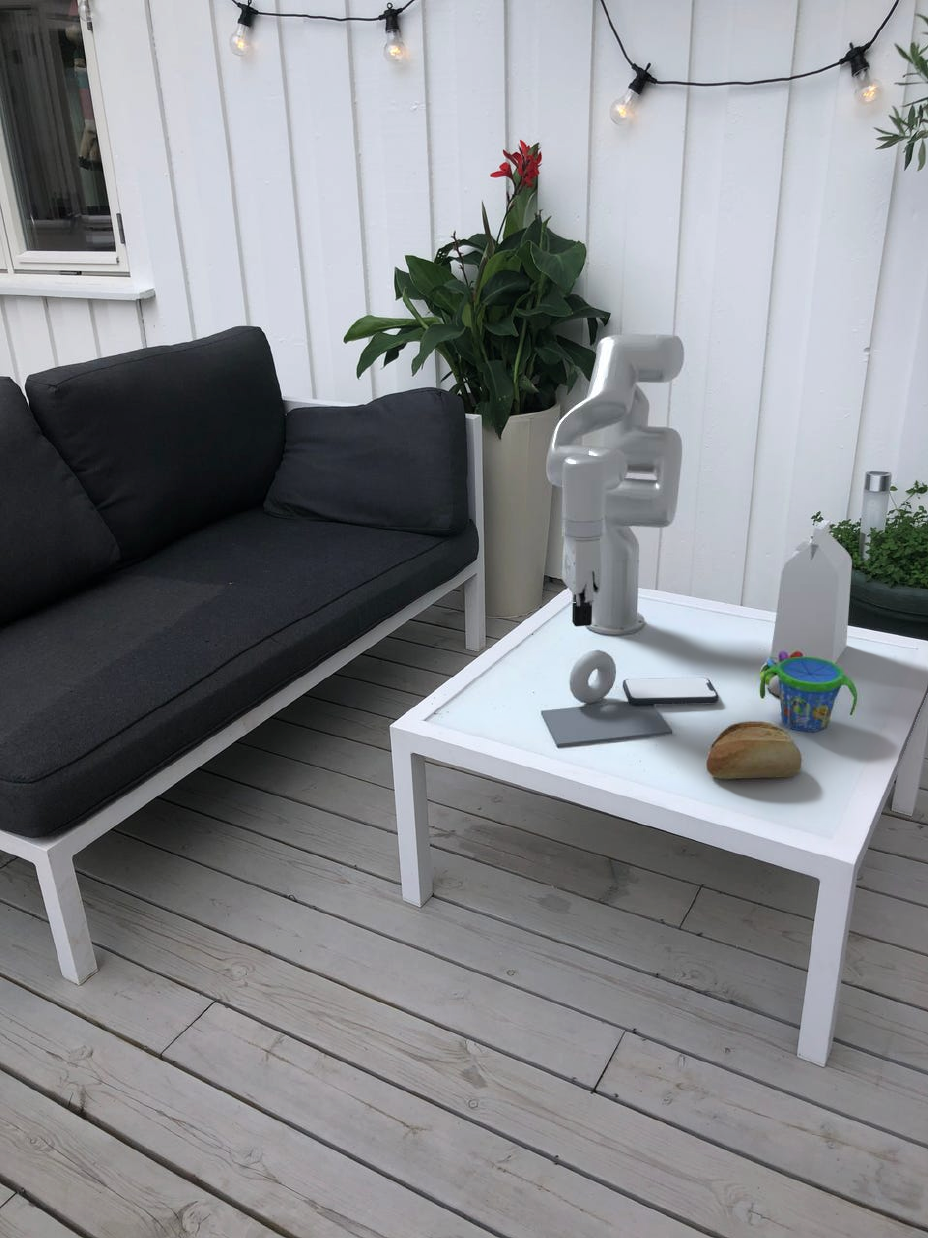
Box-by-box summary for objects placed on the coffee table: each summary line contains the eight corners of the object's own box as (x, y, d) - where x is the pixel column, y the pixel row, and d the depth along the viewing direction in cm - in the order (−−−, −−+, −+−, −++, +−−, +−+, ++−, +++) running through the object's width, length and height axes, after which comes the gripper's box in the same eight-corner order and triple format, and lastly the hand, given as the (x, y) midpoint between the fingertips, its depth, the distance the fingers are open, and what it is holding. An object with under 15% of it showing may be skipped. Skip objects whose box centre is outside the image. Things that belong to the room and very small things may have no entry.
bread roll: (695, 762, 162) (698, 717, 158) (785, 753, 163) (789, 709, 160) (716, 794, 153) (719, 748, 150) (810, 784, 154) (816, 738, 151)
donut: (578, 713, 177) (578, 661, 174) (565, 706, 180) (565, 655, 176) (619, 697, 183) (620, 646, 179) (606, 691, 185) (607, 641, 182)
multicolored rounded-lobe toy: (820, 697, 180) (824, 660, 178) (765, 699, 180) (769, 662, 178) (805, 676, 188) (808, 641, 185) (753, 678, 188) (756, 643, 185)
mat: (541, 713, 178) (541, 710, 178) (650, 702, 181) (650, 699, 180) (556, 747, 167) (556, 743, 167) (672, 734, 170) (672, 731, 169)
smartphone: (629, 707, 178) (719, 705, 178) (630, 699, 177) (720, 697, 177) (621, 686, 186) (707, 684, 186) (621, 678, 186) (708, 676, 186)
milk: (831, 668, 191) (846, 537, 181) (770, 657, 196) (782, 529, 186) (846, 645, 200) (861, 519, 190) (787, 635, 206) (799, 512, 196)
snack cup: (860, 721, 172) (867, 667, 168) (843, 748, 164) (850, 692, 160) (769, 700, 180) (774, 648, 176) (749, 725, 172) (753, 671, 168)
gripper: (552, 517, 182) (552, 611, 189) (573, 540, 169) (572, 641, 175) (592, 514, 183) (591, 608, 190) (616, 537, 170) (613, 638, 176)
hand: (581, 624), depth 183 cm, fingers closed
